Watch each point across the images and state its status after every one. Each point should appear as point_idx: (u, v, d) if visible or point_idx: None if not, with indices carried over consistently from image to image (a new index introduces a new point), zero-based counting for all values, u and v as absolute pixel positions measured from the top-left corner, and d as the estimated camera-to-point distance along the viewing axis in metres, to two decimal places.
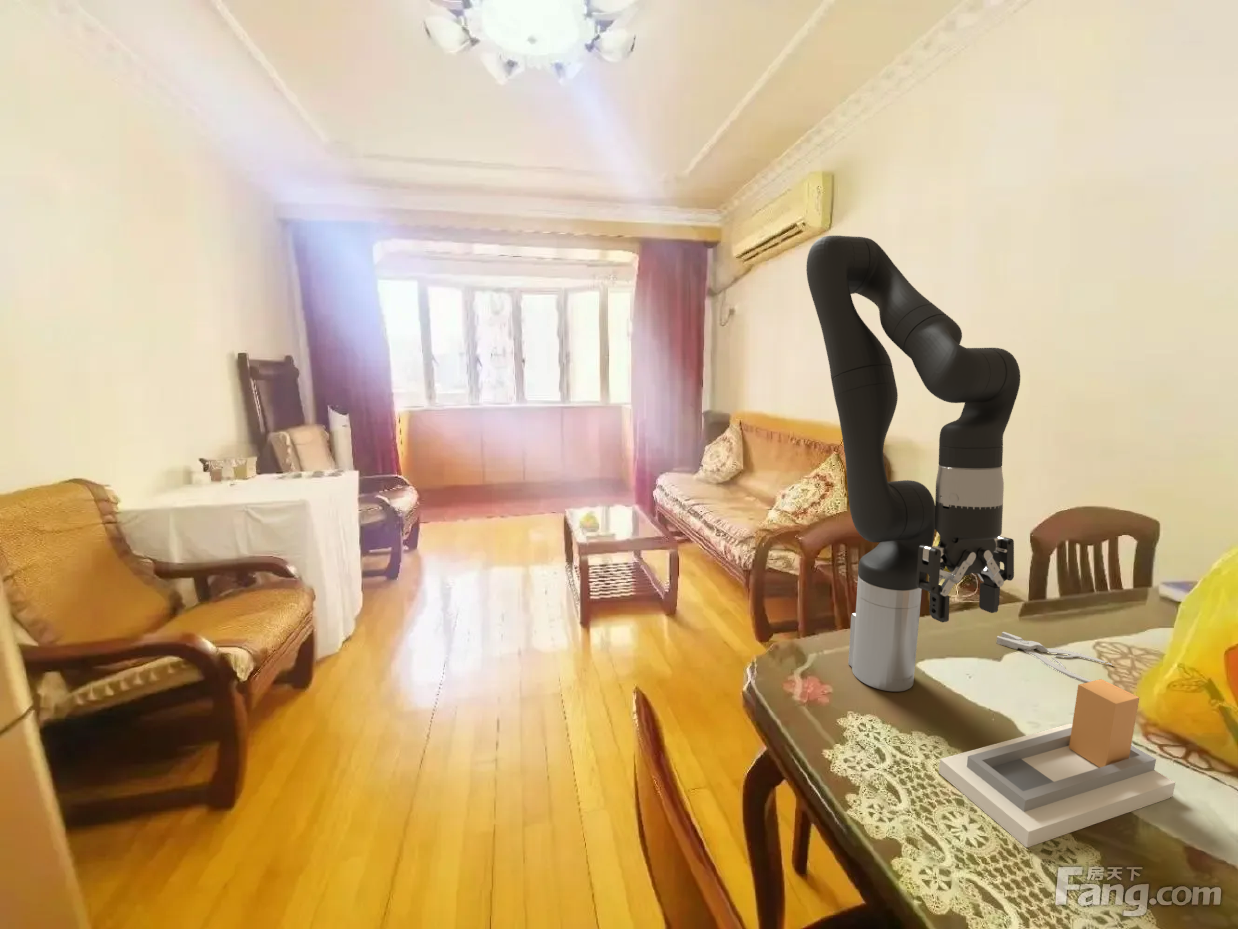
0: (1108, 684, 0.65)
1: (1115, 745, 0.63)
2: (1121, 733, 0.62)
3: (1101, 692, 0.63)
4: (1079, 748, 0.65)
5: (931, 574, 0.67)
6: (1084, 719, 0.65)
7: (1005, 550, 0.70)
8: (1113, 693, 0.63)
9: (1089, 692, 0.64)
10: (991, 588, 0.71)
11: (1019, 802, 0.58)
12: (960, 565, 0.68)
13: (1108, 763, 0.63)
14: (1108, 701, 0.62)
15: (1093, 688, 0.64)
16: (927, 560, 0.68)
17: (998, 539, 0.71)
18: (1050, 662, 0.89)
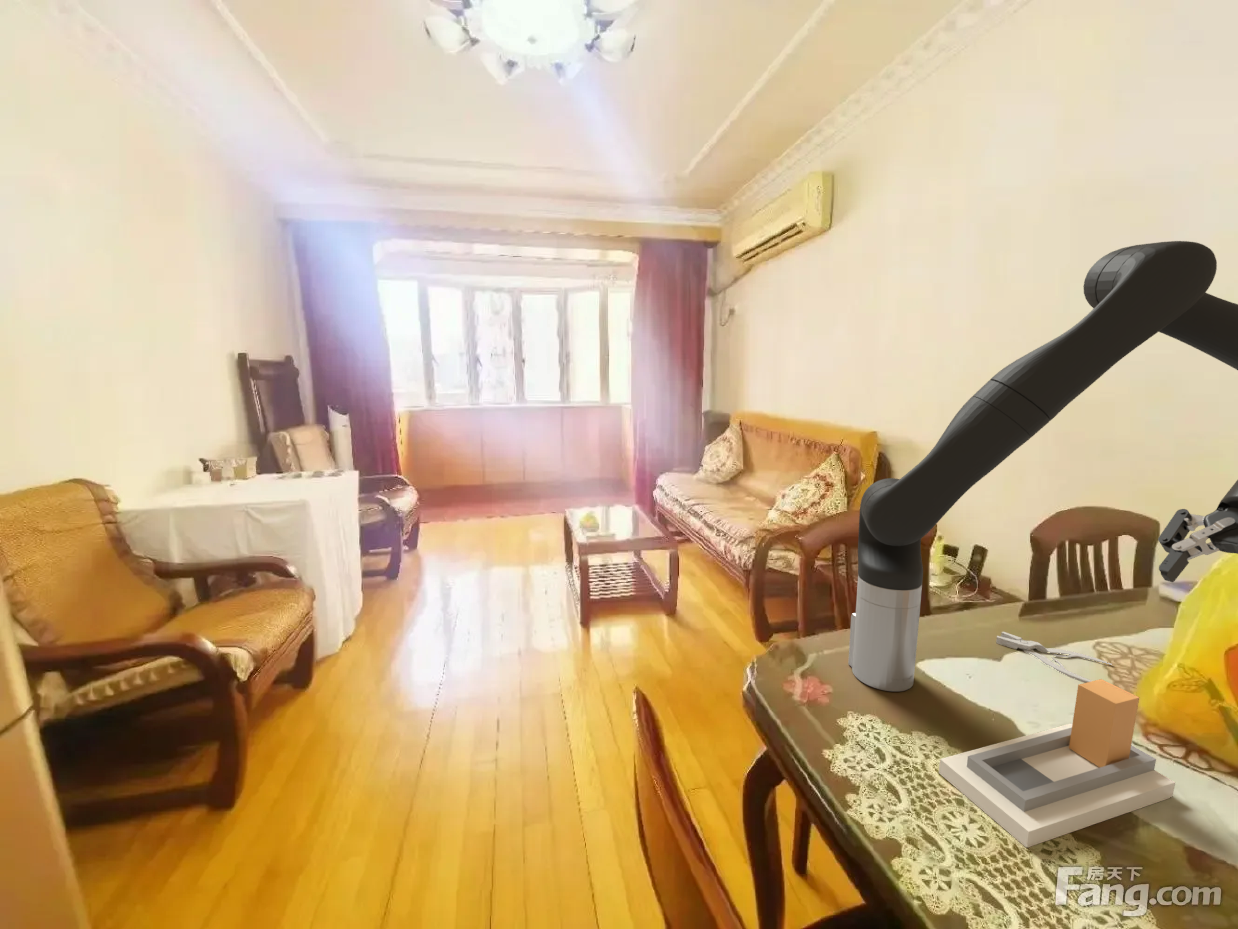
0: (1108, 684, 0.65)
1: (1115, 745, 0.63)
2: (1121, 733, 0.62)
3: (1101, 692, 0.63)
4: (1079, 748, 0.65)
5: None
6: (1084, 719, 0.65)
7: None
8: (1113, 693, 0.63)
9: (1089, 692, 0.64)
10: (1185, 561, 0.69)
11: (1019, 802, 0.58)
12: None
13: (1108, 763, 0.63)
14: (1108, 701, 0.62)
15: (1093, 688, 0.64)
16: None
17: None
18: (1050, 662, 0.89)
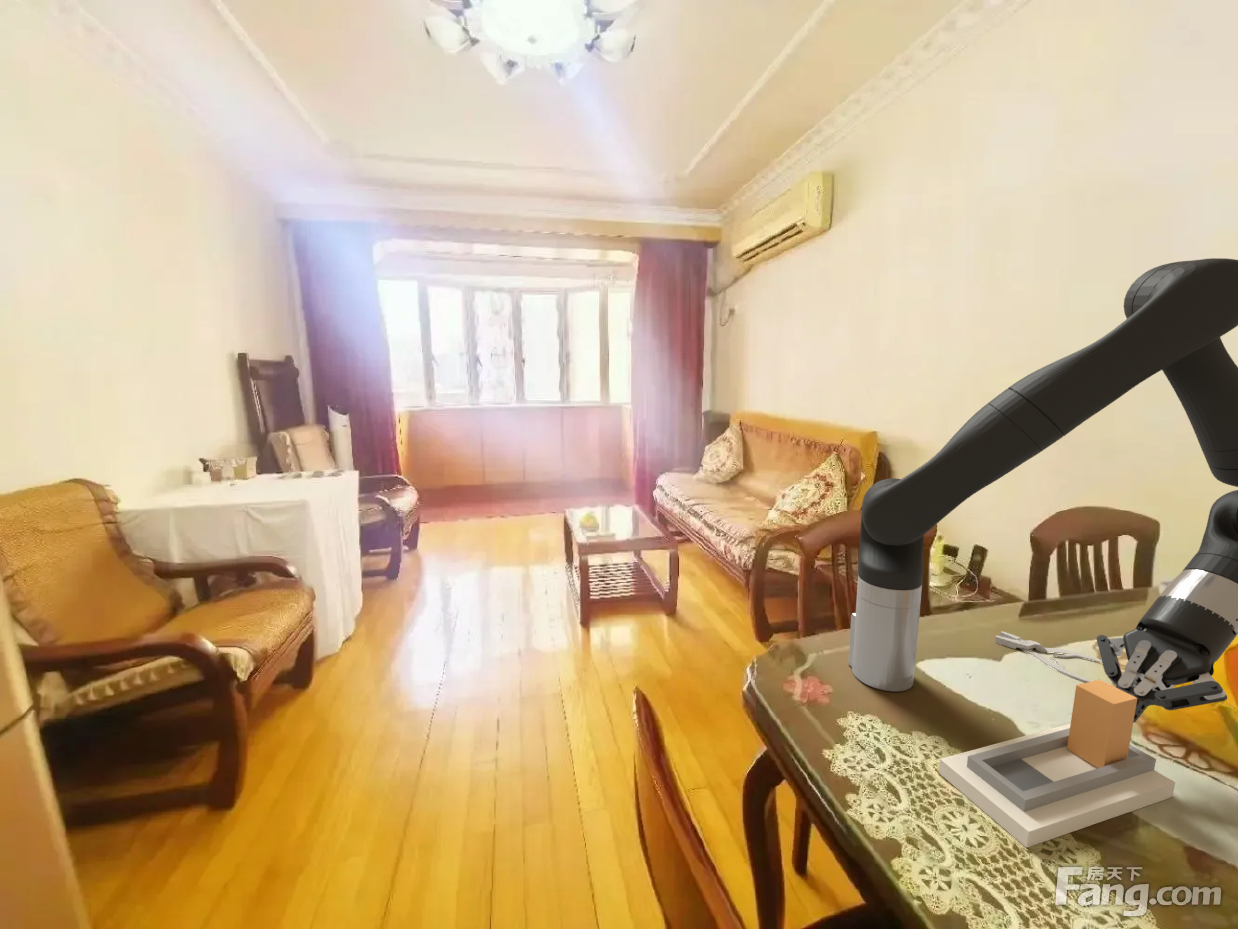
0: (1106, 684, 0.65)
1: (1113, 745, 0.62)
2: (1119, 734, 0.62)
3: (1099, 693, 0.63)
4: (1077, 749, 0.65)
5: (1192, 705, 0.62)
6: (1082, 720, 0.64)
7: None
8: (1111, 693, 0.63)
9: (1087, 693, 0.64)
10: None
11: (1019, 802, 0.58)
12: None
13: (1106, 764, 0.63)
14: (1106, 701, 0.62)
15: (1091, 688, 0.64)
16: (1207, 698, 0.61)
17: None
18: (1048, 661, 0.89)
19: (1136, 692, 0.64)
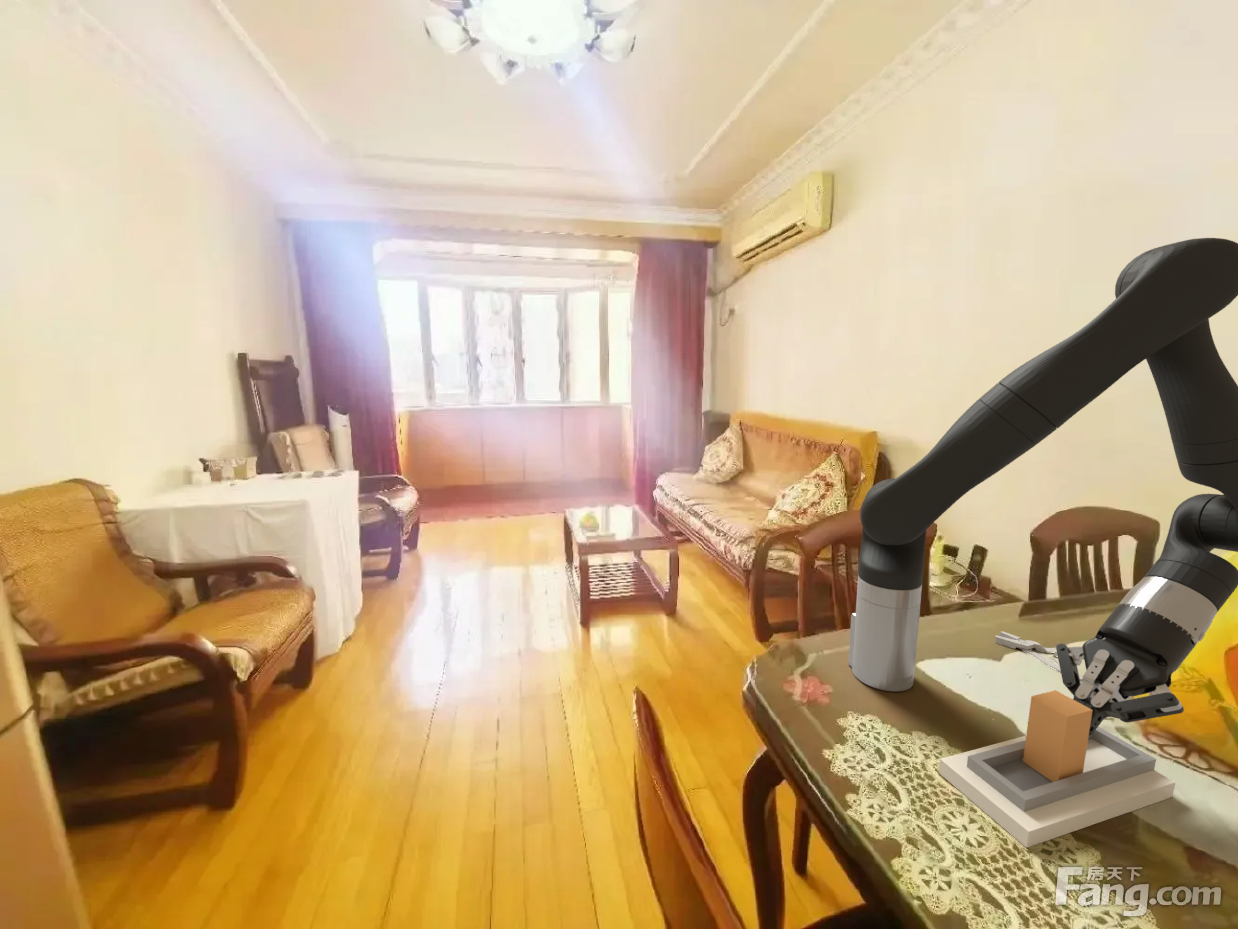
0: (1062, 695, 0.63)
1: (1067, 759, 0.60)
2: (1074, 747, 0.60)
3: (1054, 704, 0.61)
4: (1032, 762, 0.63)
5: (1149, 718, 0.60)
6: (1037, 732, 0.63)
7: None
8: (1066, 705, 0.61)
9: (1042, 704, 0.62)
10: None
11: (1019, 802, 0.58)
12: None
13: (1060, 778, 0.61)
14: (1060, 713, 0.60)
15: (1046, 700, 0.62)
16: (1164, 711, 0.59)
17: None
18: (1048, 661, 0.89)
19: (1093, 703, 0.62)
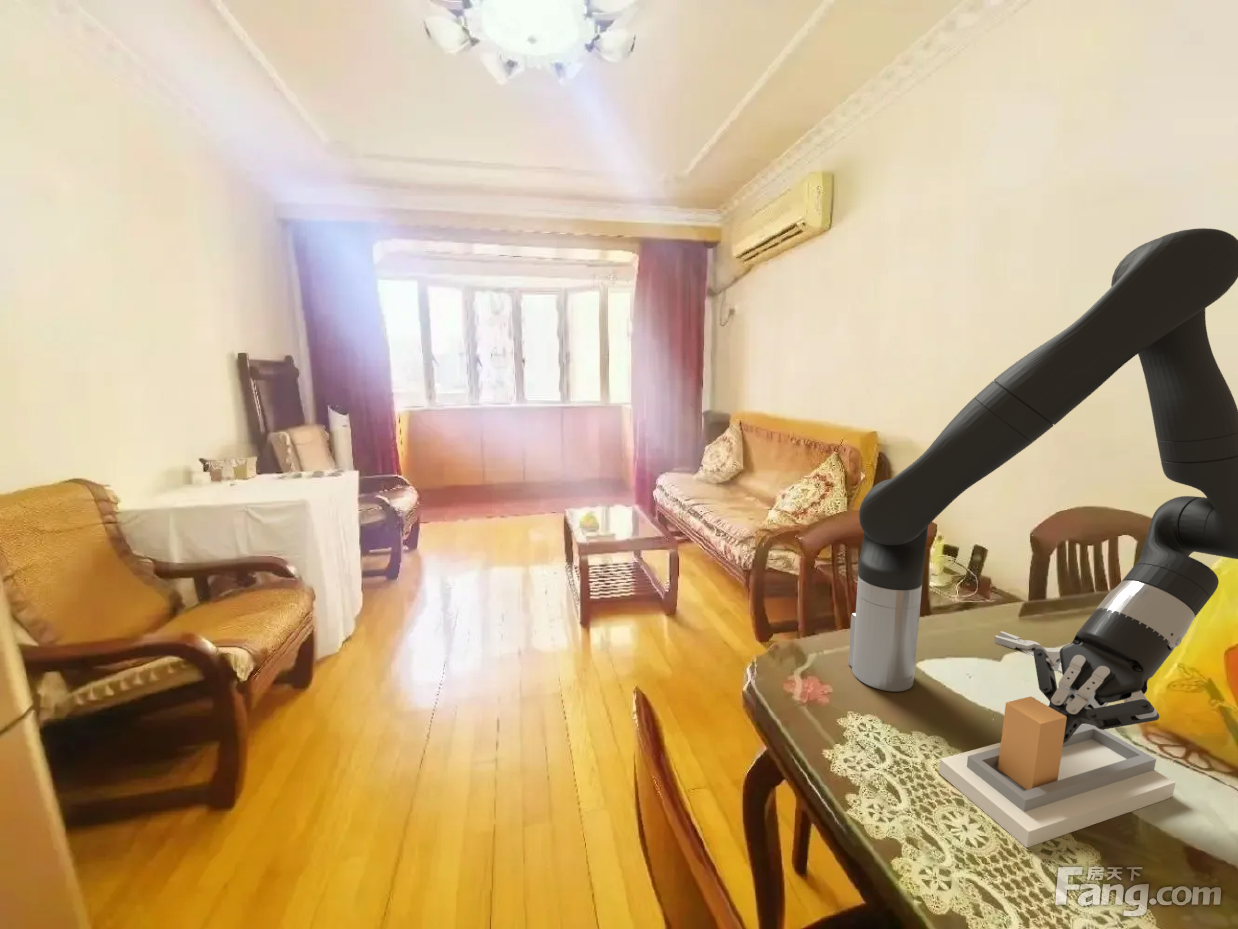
0: (1037, 702, 0.62)
1: (1041, 766, 0.59)
2: (1048, 755, 0.59)
3: (1028, 711, 0.60)
4: (1007, 769, 0.62)
5: (1124, 725, 0.59)
6: (1012, 739, 0.61)
7: None
8: (1040, 711, 0.60)
9: (1016, 711, 0.61)
10: None
11: (1019, 802, 0.58)
12: None
13: (1034, 786, 0.60)
14: (1033, 720, 0.59)
15: (1020, 706, 0.61)
16: (1139, 718, 0.58)
17: None
18: None
19: (1068, 710, 0.61)
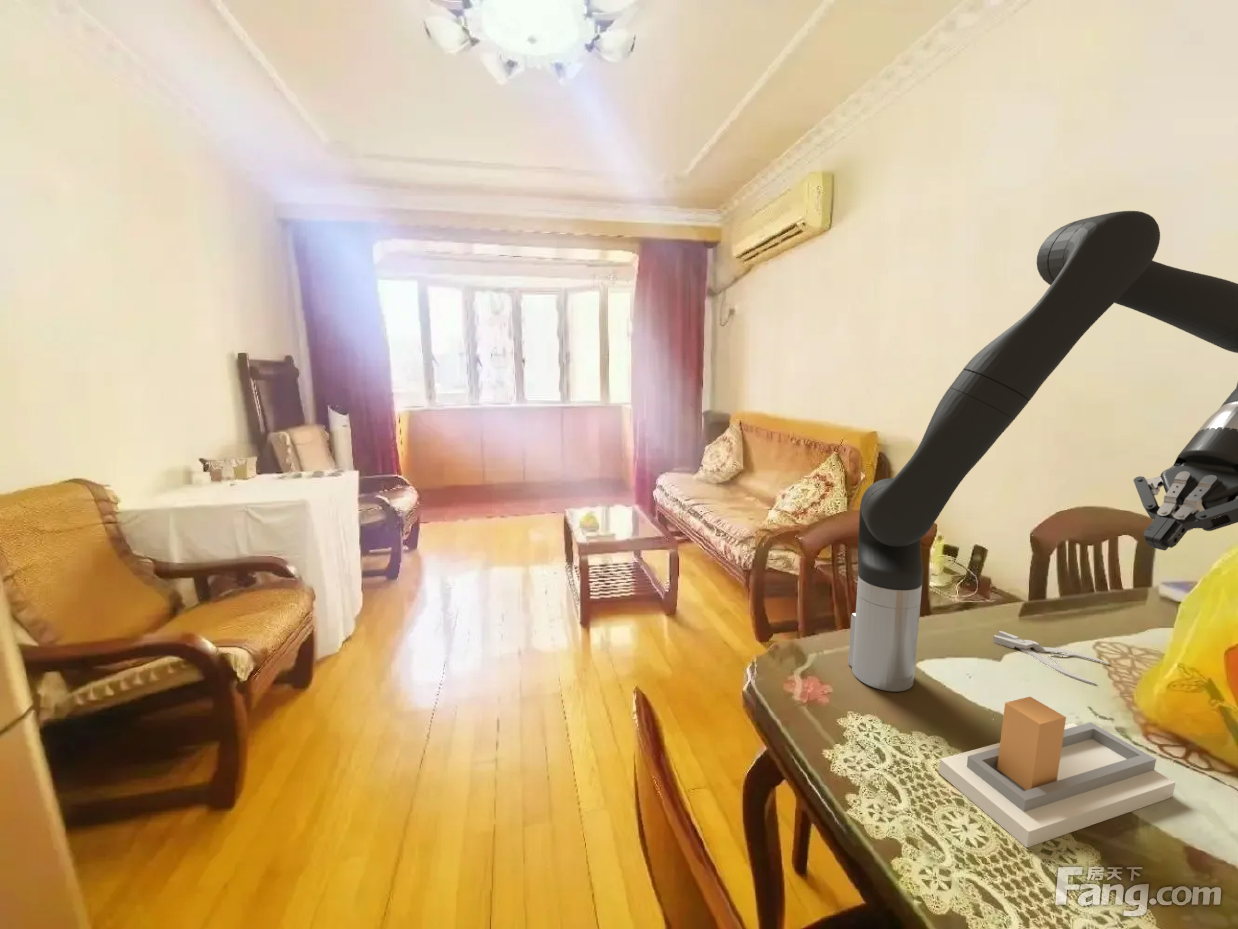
0: (1036, 702, 0.62)
1: (1040, 767, 0.59)
2: (1047, 755, 0.59)
3: (1027, 711, 0.60)
4: (1006, 769, 0.62)
5: (1233, 523, 0.63)
6: (1011, 739, 0.61)
7: None
8: (1039, 712, 0.60)
9: (1015, 711, 0.61)
10: None
11: (1019, 802, 0.58)
12: None
13: (1034, 786, 0.60)
14: (1032, 720, 0.59)
15: (1020, 707, 0.61)
16: None
17: (1151, 482, 0.72)
18: (1046, 661, 0.89)
19: (1176, 517, 0.65)
